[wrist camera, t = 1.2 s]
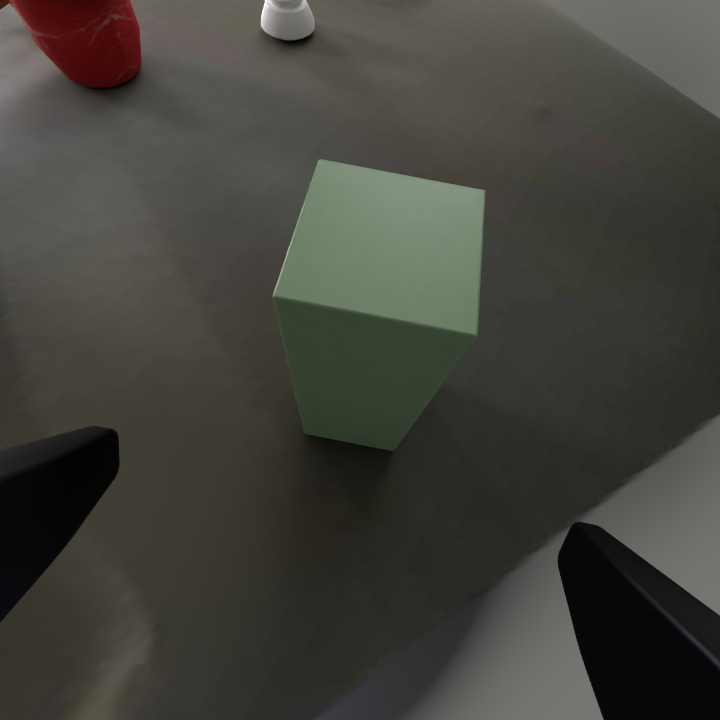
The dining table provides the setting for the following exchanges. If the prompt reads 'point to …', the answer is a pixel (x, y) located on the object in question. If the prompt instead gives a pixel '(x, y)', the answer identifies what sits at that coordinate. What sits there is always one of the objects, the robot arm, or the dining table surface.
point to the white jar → (287, 19)
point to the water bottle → (86, 38)
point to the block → (378, 299)
